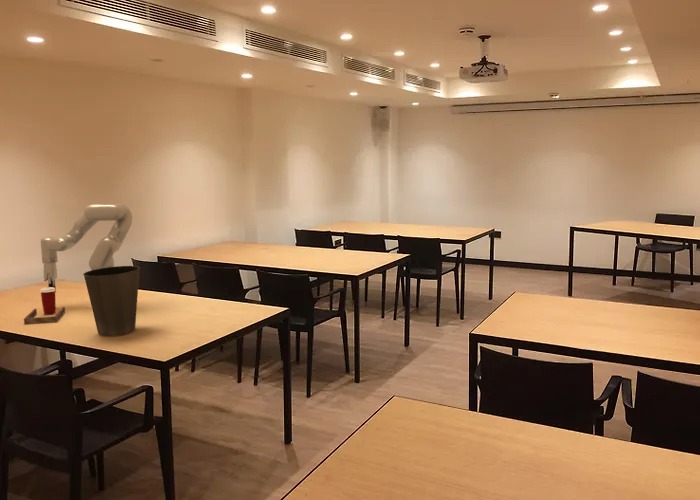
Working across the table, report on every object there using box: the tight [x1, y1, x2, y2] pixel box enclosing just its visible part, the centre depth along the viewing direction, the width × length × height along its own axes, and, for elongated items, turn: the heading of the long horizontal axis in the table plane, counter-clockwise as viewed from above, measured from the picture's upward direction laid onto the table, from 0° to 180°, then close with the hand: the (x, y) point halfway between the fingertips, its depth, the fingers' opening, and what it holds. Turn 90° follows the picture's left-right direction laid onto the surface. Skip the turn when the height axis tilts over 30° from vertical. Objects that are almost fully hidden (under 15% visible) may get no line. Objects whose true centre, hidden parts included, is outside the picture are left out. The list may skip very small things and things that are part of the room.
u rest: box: [23, 306, 66, 325], centre depth 314 cm, size 15×21×3 cm
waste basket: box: [83, 265, 141, 337], centre depth 286 cm, size 27×20×30 cm
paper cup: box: [39, 286, 57, 316], centre depth 322 cm, size 8×8×14 cm
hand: (52, 292), depth 331 cm, fingers closed
